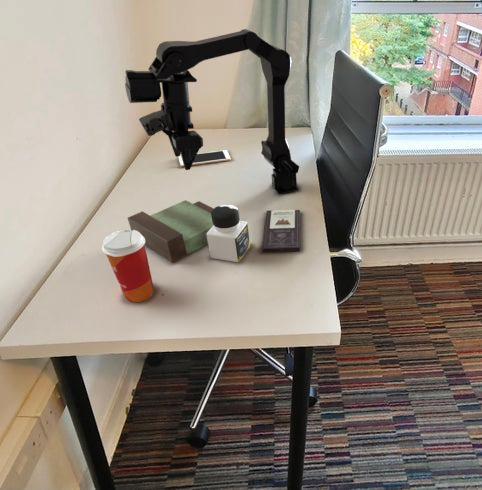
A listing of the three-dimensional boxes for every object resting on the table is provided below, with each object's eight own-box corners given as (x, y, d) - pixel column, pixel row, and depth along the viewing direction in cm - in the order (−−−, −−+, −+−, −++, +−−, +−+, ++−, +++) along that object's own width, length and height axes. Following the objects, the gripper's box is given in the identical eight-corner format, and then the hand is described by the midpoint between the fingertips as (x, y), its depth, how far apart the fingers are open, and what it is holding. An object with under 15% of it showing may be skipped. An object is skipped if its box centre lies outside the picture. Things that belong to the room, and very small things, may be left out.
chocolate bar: (262, 248, 106) (266, 210, 120) (262, 252, 106) (266, 213, 121) (299, 247, 106) (299, 209, 121) (300, 250, 107) (299, 212, 122)
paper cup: (127, 282, 96) (108, 228, 88) (163, 281, 96) (148, 227, 88) (114, 307, 89) (93, 251, 81) (153, 305, 90) (136, 250, 82)
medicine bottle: (238, 263, 102) (232, 219, 96) (210, 258, 104) (202, 214, 97) (250, 245, 108) (245, 203, 101) (223, 241, 109) (216, 199, 102)
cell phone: (178, 157, 148) (178, 155, 148) (226, 151, 154) (226, 149, 154) (180, 167, 143) (180, 165, 142) (231, 160, 148) (230, 158, 148)
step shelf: (200, 207, 123) (196, 188, 119) (239, 227, 115) (236, 207, 112) (133, 238, 109) (127, 217, 106) (172, 263, 102) (167, 241, 98)
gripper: (131, 91, 106) (140, 153, 115) (148, 114, 94) (157, 181, 102) (179, 90, 112) (184, 148, 120) (201, 111, 99) (206, 175, 108)
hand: (182, 162), depth 112 cm, fingers open, 9 cm apart
